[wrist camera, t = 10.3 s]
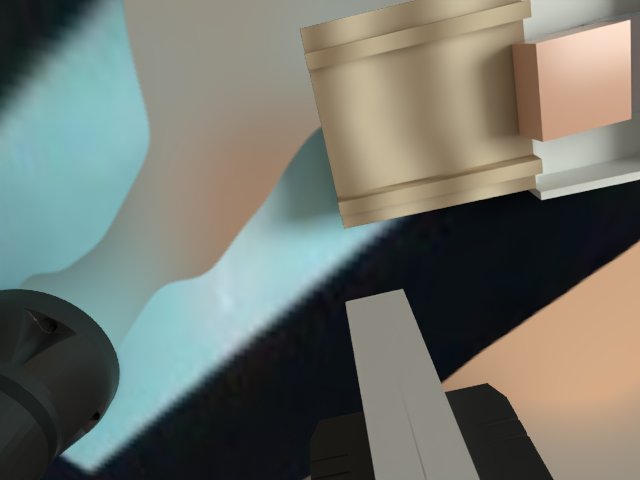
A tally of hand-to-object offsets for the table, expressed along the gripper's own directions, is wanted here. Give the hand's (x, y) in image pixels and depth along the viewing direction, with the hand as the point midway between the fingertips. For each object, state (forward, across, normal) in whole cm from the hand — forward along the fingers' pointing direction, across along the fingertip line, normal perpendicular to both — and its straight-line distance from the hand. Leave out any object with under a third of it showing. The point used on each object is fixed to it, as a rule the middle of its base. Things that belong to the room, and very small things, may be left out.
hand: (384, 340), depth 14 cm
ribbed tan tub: (+28, +7, +1) cm, 29 cm away
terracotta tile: (+24, +16, +1) cm, 29 cm away
